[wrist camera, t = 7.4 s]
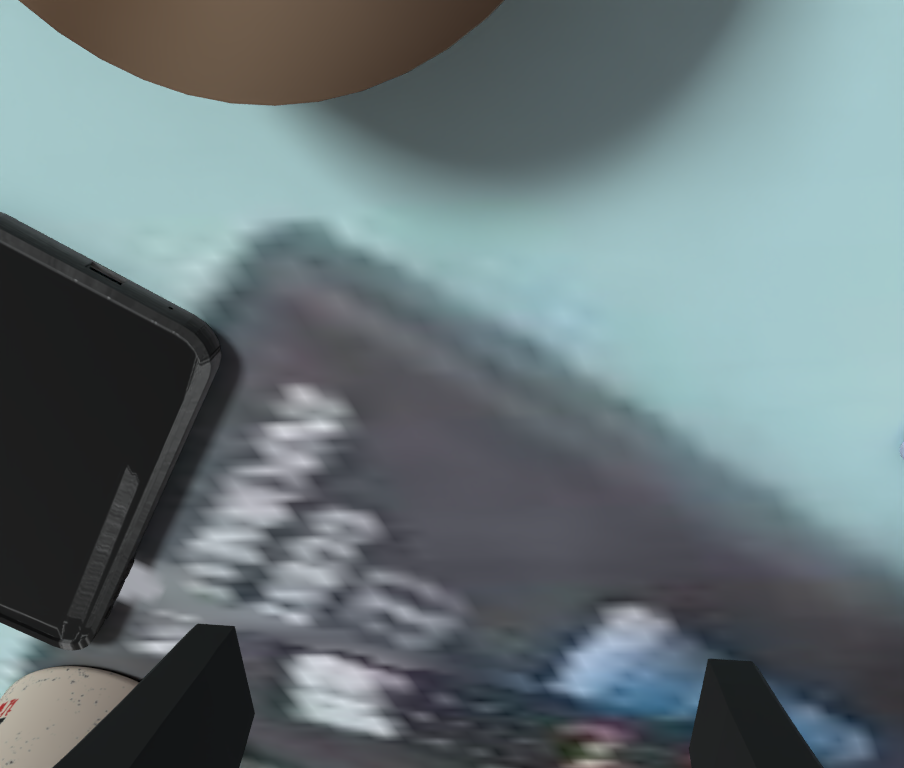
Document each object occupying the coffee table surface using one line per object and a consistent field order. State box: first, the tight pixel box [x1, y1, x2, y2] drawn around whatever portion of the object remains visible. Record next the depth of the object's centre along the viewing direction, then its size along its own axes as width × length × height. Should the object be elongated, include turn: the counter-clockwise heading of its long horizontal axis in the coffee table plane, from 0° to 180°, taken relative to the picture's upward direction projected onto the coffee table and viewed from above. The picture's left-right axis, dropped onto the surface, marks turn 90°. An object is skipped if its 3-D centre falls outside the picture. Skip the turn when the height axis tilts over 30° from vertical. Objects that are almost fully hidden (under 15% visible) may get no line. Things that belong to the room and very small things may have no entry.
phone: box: [0, 212, 221, 650], centre depth 22 cm, size 8×1×15 cm
